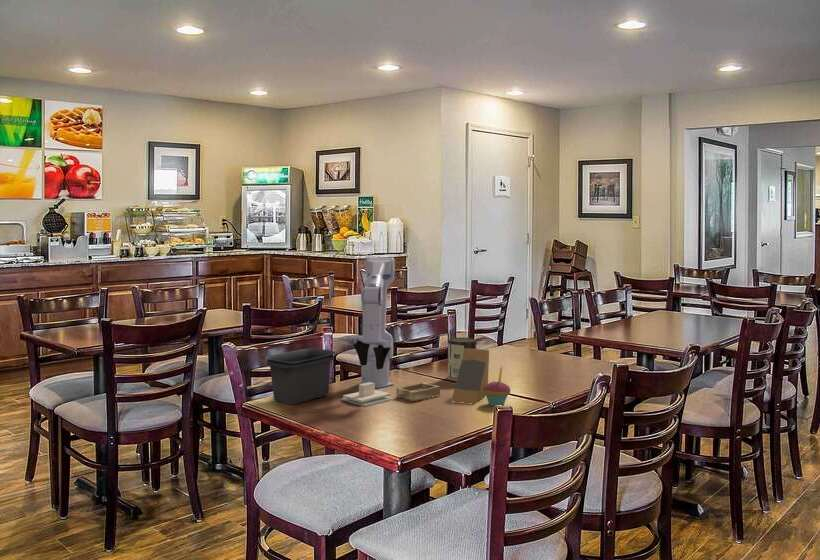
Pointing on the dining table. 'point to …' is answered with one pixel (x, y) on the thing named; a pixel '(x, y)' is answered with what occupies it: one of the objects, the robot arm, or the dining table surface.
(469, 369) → the sandwich container
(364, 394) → the lid
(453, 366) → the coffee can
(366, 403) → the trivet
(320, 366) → the storage bin
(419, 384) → the box
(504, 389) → the cupcake
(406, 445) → the dining table surface
